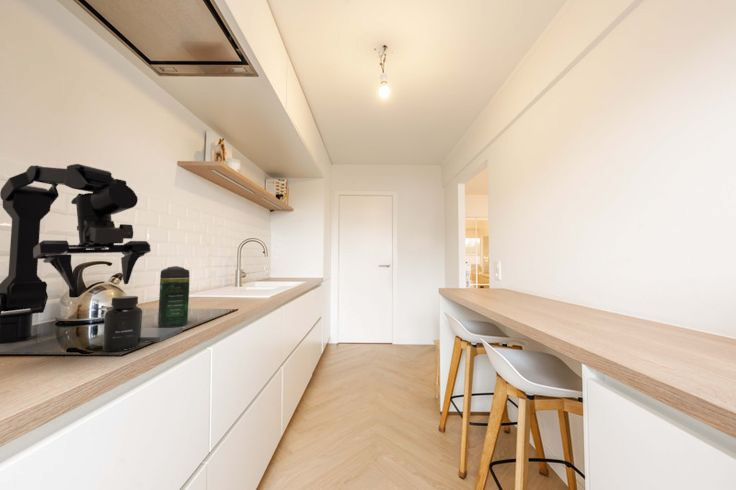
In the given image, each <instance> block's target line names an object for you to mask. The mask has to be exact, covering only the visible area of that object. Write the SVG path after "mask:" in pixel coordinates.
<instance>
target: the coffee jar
mask: <svg viewBox="0 0 736 490" xmlns="http://www.w3.org/2000/svg"><path fill="white" fill-rule="evenodd" d="M158 296H159V297H158V299H159V300H158V315H157V318H158V319H157V322H158V323H157V324H158V326H159V328H178V327H179V326H184V325H186V324H187V323H188V321H189V319H188V318H189V303H190V302H189V301H190V270H189V269H186V268H184V267H183V266H177V265H176V266H175V265H173V266H168V267H167V268H164V269H162V270H161V271H160V278H159V294H158Z"/></svg>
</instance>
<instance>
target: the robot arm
mask: <svg viewBox="0 0 736 490" xmlns="http://www.w3.org/2000/svg"><path fill="white" fill-rule="evenodd" d="M112 175H113V174H112V172H111V171H108V170H106V169H105V170H104V169H100V168H97V167H92V166H88V165H84V164H79V163H73V164H70V165H69V164H68V165H67V166H66V168H61V167H51V166H50V167H49V166H41V165H30V166H29V167H28V168H27V169H26V171H24V172H22V173H19V174H17V175H16V174H15V175H14V176H12V177H9V178H8V179H7V181H6V182H5V183H4V185H3V186H2V188H1V190H0V199H1V200H2V208H3V209H4V211H5V212H6V213H7V215H8V216H9V217H10V218H11V228H10V229H11V231H10V233H11V234H10V245H9V261H8V262H9V263H8V275H7V276H6V277H5V278H4V279H3V280H2V281H1V282H0V344H1V343H8V342H11V343H12V342H19V341H21V342H22V341H27V340H29V339H32V338H33V337H36V336H37V335H39V333H38V332H32V331H33V319H34V317H33V316H34V314H43V313H44V312H45V309H46V305H47V302H48V298H49V297H48V292H47V289H48V284H47V282H46V281H43V280H42V279H41V277H39V276H38V265H39V264H38V263H39V260H42V261H43V263H44V264H46V263H49V264H51V266H52V267H53V268H54V269H55V270H56V271H57V272H58V273H59V275H60V276H61V277H62V279H63V280H64V282H65V283H66V285H67V287H68V288H69V289H70V290H75V288H76V283H75V282H76V281H75V277H74V271H73V267H72V255H73V254H116V253H117V254H122V255H124V256H122V257H120V262H121V263H120V264H121V273H122V280H123V284H124V285H129V282H130V279H131V276H132V273H133V270H134V267H135V265H136V262H137V261H138V260H139V259H140V258H141V257H143V256H145V255H146V254H148V253H151V251H152V250H151V249H152V248H151V244H150V243H149V242H148V241H146V240H132V239H133V237H134V228H133V224H128V223H127V224H126V223H121V224H119V226H118V227H116V226H115V221H113V220H112V215H116V214H118V213H121V212H124V211H127V210H129V209H133V208H134V207H136V205H137V204H138V200H139V199H138V196H137V195H136V193H135V191H134V190H133V189H132V188H131V187H129V185H127V181H126V180H123V179H119V178H114V177H113V176H112ZM34 182H36V183H41V184H42V183H43V184H48V185H51V186H50V188H49V189H47V188H43V187H37V186H31V184H34ZM59 185H62V186H65V187H68V188H69V189H73V190H79V191H83V192H87V193H77V195H76V196H75V197H73V199H72V200H71V202H70V203H71V204H72V205H76V215H77V226H76V231H78V239H79V243H78V244H69V242H68V240H55V239H53V240H45V239H44V240H42V241H40V232H41V231H40V230H41V221H42V220H43V218H44V217H45V216H46V215H48V213H50V211H51V207H52V204H53V203H55V201H56V200H57V199H58V197H59V191H58V188H57V186H59ZM125 239H128V240H130V239H131V240H130V241H127V242H126V243H124V240H125Z"/></svg>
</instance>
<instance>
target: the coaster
mask: <svg viewBox="0 0 736 490" xmlns="http://www.w3.org/2000/svg"><path fill="white" fill-rule="evenodd" d="M183 332H184V331H183V327H145V328H141V339H140V343H146V342H145V341H154V342H153V343H161V342H163V341H165V340H167V339H169V338H172V337H174V336H176V335H179V334H181V333H183Z"/></svg>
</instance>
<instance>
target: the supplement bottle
mask: <svg viewBox="0 0 736 490" xmlns="http://www.w3.org/2000/svg"><path fill="white" fill-rule="evenodd" d="M111 298H112V299H111V303H110V305H111V307H112V308H109V309H108V310H107V311H106V312H105V314H104V323H103V324H104V325H103V326H104V327H103V337H102V342H103V343H102V350H103V351H105V352H108V351H116V352H120V351H119V350H124V349H129V348H133V347H136V346H138V345H139V346H140V344H141V342H140V339H141V330H142V322H143V321H142V320H143V310H142V309H141V307H138V306H137V305H138V304H139V300H138V299H139V296H136V295H123V296H114V297H111ZM139 346H138V347H139ZM136 348H137V347H136ZM133 349H134V348H133ZM129 350H130V349H129ZM124 351H125V350H124Z"/></svg>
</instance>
